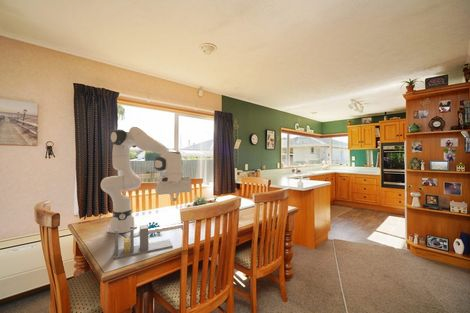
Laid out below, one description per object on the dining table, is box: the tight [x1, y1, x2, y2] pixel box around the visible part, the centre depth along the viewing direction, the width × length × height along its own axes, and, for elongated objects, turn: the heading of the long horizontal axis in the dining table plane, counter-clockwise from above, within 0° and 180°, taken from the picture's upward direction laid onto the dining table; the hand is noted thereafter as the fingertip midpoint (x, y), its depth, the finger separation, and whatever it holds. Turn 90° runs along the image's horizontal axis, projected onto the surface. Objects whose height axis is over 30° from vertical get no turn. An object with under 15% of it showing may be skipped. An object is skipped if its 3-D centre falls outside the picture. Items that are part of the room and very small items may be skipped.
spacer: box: [123, 236, 130, 254], centre depth 117 cm, size 6×3×6 cm, turn 28°
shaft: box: [138, 221, 183, 236], centre depth 126 cm, size 8×28×6 cm, turn 118°
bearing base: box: [113, 224, 174, 260], centre depth 121 cm, size 10×30×14 cm, turn 118°
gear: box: [146, 221, 161, 237], centre depth 144 cm, size 11×6×10 cm
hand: (174, 200), depth 126 cm, fingers closed
